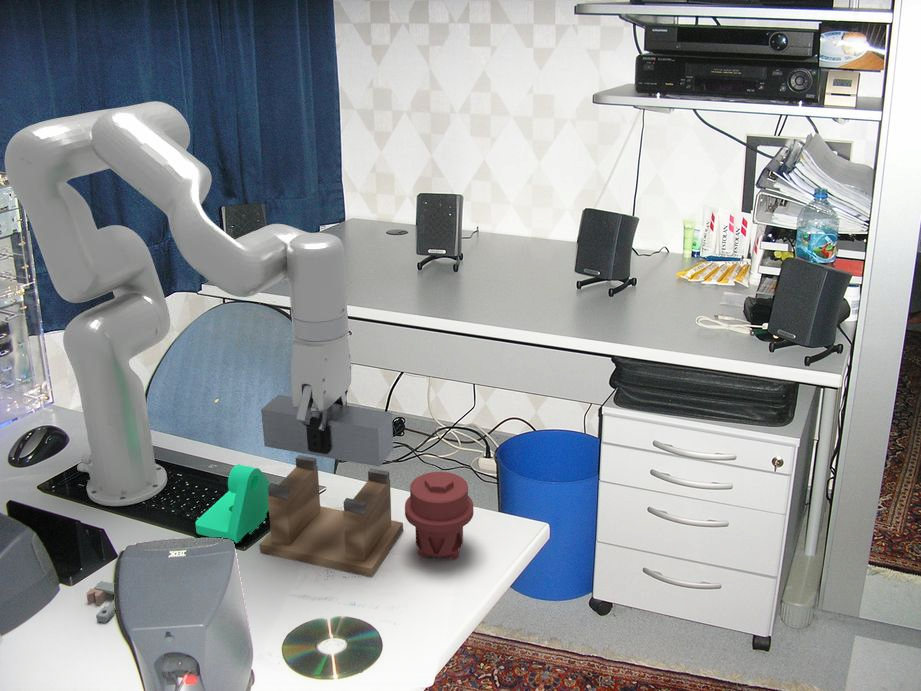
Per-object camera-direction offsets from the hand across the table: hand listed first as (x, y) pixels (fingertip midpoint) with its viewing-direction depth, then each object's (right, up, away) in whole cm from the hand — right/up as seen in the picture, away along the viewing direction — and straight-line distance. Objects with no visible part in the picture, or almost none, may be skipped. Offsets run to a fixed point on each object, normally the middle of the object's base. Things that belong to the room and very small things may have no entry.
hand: (328, 441), depth 131 cm
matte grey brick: (0, -1, 0) cm, 1 cm away
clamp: (-24, -22, -6) cm, 33 cm away
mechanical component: (+16, -17, +5) cm, 24 cm away
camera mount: (-16, -14, +12) cm, 24 cm away
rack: (0, -16, +7) cm, 17 cm away
